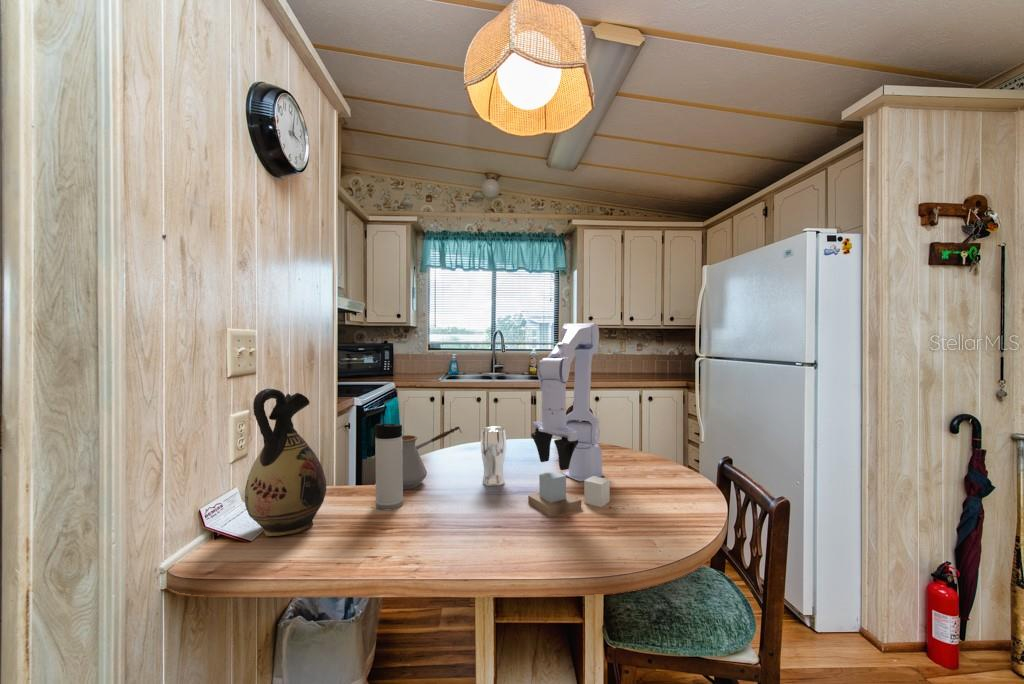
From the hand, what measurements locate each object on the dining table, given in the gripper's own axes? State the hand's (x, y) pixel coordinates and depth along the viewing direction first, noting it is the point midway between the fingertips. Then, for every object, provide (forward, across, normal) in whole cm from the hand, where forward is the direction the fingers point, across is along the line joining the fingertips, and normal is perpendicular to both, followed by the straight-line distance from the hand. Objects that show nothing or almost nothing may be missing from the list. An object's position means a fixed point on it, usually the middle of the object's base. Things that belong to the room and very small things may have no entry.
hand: (554, 465), depth 103 cm
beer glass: (+10, -22, -4) cm, 24 cm away
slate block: (+8, 0, 0) cm, 8 cm away
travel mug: (+10, -22, -33) cm, 41 cm away
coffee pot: (+10, -33, -20) cm, 40 cm away
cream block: (+10, +4, +10) cm, 15 cm away
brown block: (+10, 0, 0) cm, 10 cm away
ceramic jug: (+10, -22, -56) cm, 60 cm away
